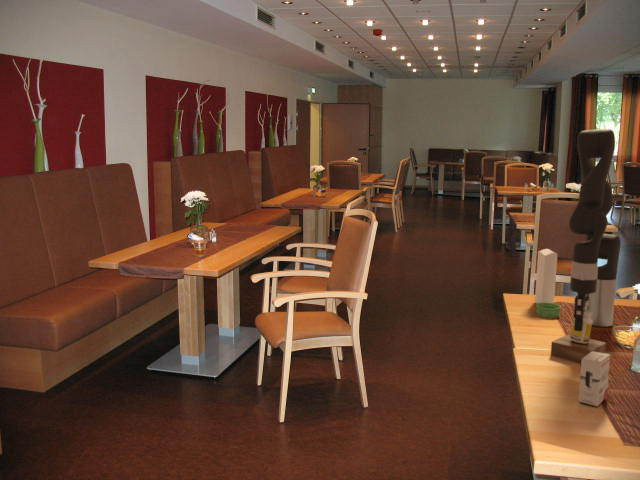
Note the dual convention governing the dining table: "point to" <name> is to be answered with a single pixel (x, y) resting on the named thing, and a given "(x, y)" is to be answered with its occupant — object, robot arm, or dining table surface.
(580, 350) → the walnut plinth block
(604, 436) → the dining table surface
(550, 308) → the ramekin
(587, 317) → the supplement bottle
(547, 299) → the tall cream pillar
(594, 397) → the ink box
